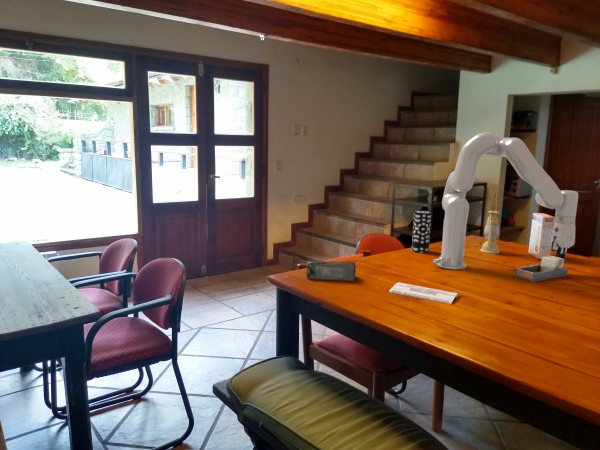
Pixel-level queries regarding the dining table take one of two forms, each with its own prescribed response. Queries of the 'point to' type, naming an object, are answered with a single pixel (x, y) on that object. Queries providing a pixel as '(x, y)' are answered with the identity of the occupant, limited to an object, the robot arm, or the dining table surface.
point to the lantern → (491, 233)
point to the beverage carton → (331, 270)
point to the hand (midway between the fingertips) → (559, 262)
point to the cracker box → (541, 235)
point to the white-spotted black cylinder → (421, 231)
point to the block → (551, 263)
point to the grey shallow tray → (539, 273)
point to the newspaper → (423, 293)
